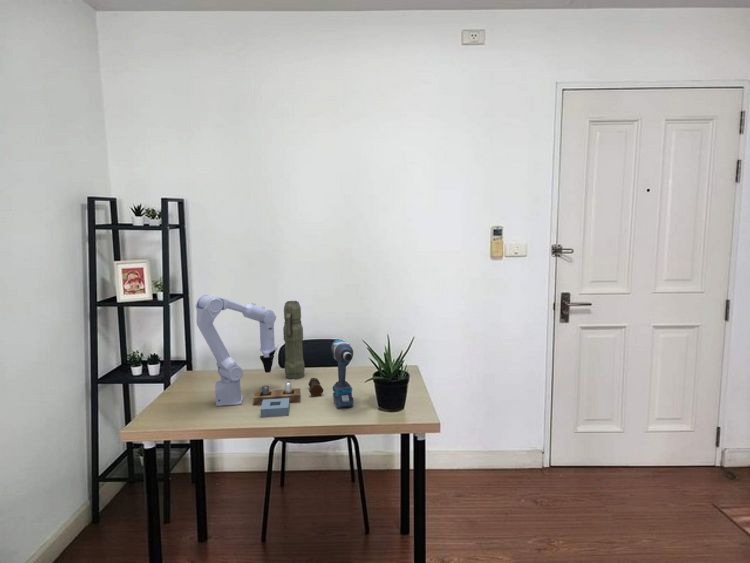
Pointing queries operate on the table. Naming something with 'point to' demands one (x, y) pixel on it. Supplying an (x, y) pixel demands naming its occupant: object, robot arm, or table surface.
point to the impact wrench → (342, 374)
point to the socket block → (275, 407)
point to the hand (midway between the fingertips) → (268, 369)
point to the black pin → (265, 390)
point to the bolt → (315, 387)
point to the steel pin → (288, 387)
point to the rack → (277, 396)
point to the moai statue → (293, 341)
